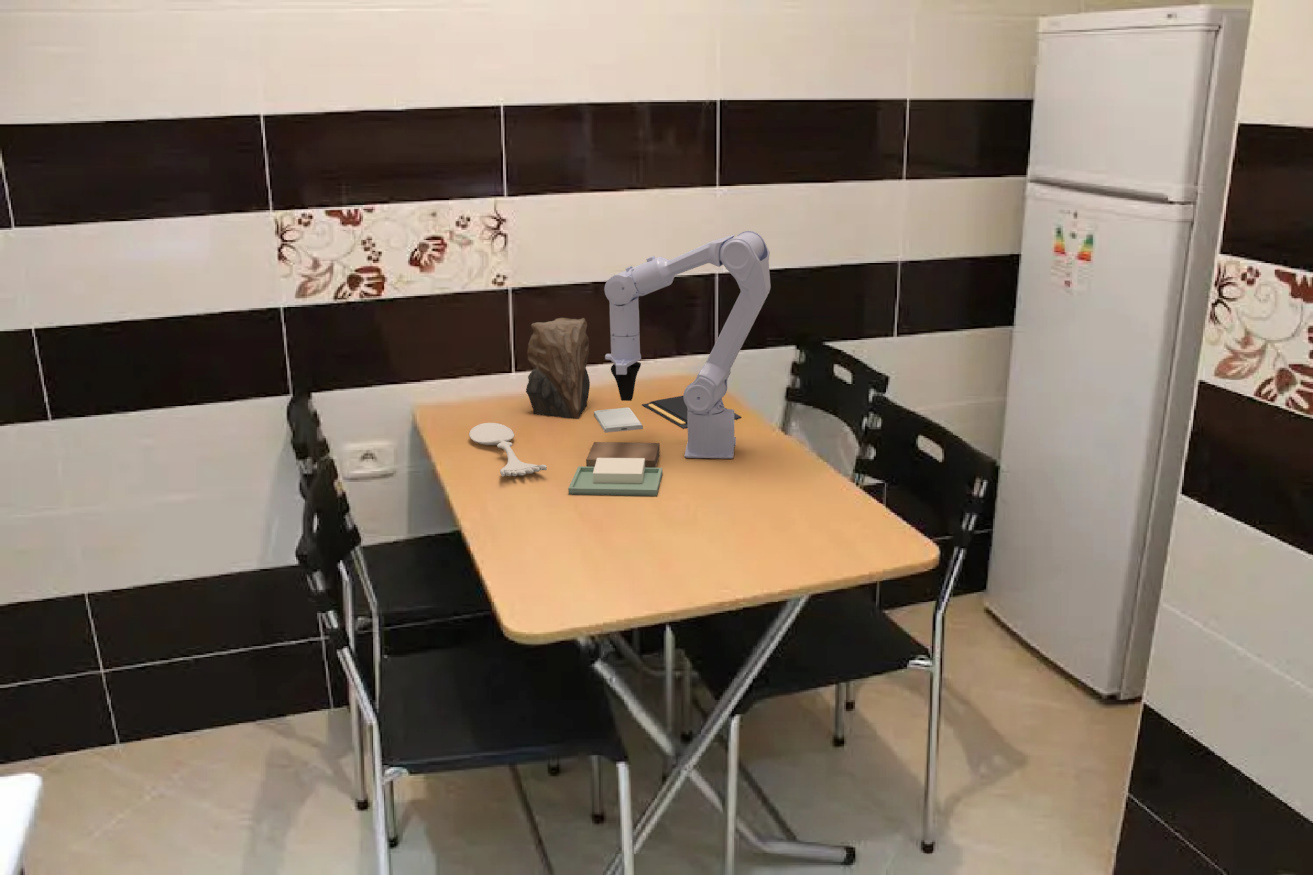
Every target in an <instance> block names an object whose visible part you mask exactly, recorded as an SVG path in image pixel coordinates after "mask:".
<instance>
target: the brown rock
mask: <svg viewBox="0 0 1313 875" xmlns="http://www.w3.org/2000/svg"><path fill="white" fill-rule="evenodd" d="M530 328H531V330H532V334H531V335H530V338H529V340H528V343H527V349H526V351H527V352H526V354H527V361H528V362H529V363H530V364H531V366H532V369H531V371H530V373H529V375H527V378H528V379H527V380H528V383H527V384H526V389H525V393H526V394H527V396H528V399H529V401H530V404H531V408H532V409H533V410H532V412H533V413H532V414H533V415H537V416H547V417H555V418H561V419H572V420H580V417H581V415H582V414H583V412H585V410H586V408H587V407H588V400H589V396H590V395H589V394H590V385H591V382H590V377H589V374H588V370H587V364H588V360H589V355H590V339H589V336H588V334H587V328H588V322H587V320H586V318H585V317H582V318H578V319H577V318H569V317H568V318H567V317H559V318H557V317H556V318H554V320H552V321H551V320H550V321H549V320H548V321H546V322H541V321H540V322H539V321H538V322H537V321H536V322H532V323H531V324H530Z"/></svg>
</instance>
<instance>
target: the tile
mask: <svg viewBox="0 0 1313 875" xmlns="http://www.w3.org/2000/svg"><path fill="white" fill-rule="evenodd" d="M644 471H645V458H597V460H596V464H595V467H594V471H593V482H594V483H642V482H643V477H644Z"/></svg>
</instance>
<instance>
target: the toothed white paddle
mask: <svg viewBox="0 0 1313 875" xmlns="http://www.w3.org/2000/svg"><path fill="white" fill-rule="evenodd" d="M468 436H469V438H470V439H471V440H472V441H473V442H474V443H478V444H480V445H485V446H497V448H498V449H502V450H504V451H505V453H506V455H507V464H505V466H503V467H502V468H501V469H499V473H500V475H501V477H502V478H503V477H505V476H507V477H511V476H513V477H516V476H525V475H532V474H533V473H539V472H540V471H547V469H548V467H547V465H546V464H535V463H527V462H523V461H521V460H520V459H519V458H518V457H517V455H516V454H515V452H514V450H513V449H512V446H513V442H510V441H511V440H513V438H515V432H514V431H513V430H512V429H511V428H510V427H509V426H508V425H504V424H503V423H502V424H501V423H497V422H484V423H479V424H477V425H475V426H473V427H472V428H471V429H470V430H469V433H468Z"/></svg>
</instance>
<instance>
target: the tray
mask: <svg viewBox="0 0 1313 875" xmlns="http://www.w3.org/2000/svg"><path fill="white" fill-rule="evenodd" d="M663 470H664V469H663V467H656V468H646V467H645V471H644V477H643V482H642V483H594V482H593V471H594V467H586V465H585V466H582V465H581V466H577V468H576V470H575V472H574V475H573V477H572V479H571V480H570V483H569V485H568V488H567V490H568V495H571V496H573V495H574V496H577V495H578V496H579V495H580V496H581V495H582V496H586V495H587V496H627V497H628V496H629V497H631V496H632V497H658V494H659V490H660V486H661V481H662V478H663V474H664V473H663Z"/></svg>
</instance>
